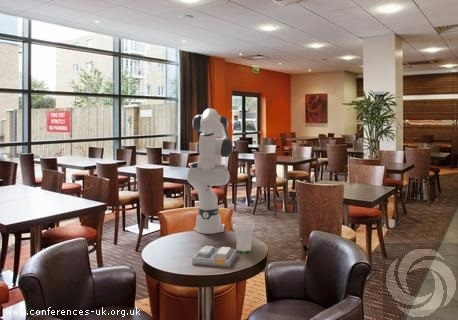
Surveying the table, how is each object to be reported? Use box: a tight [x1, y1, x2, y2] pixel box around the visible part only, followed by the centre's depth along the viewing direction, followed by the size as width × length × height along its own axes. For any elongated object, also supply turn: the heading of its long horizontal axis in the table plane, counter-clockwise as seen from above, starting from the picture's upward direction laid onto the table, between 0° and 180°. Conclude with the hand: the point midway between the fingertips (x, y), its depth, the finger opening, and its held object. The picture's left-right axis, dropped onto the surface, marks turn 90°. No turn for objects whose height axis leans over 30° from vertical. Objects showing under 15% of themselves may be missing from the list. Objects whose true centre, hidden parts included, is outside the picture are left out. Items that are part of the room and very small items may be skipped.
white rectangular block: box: [217, 246, 232, 260], centre depth 193 cm, size 10×4×4 cm, turn 167°
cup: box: [232, 221, 256, 254], centre depth 206 cm, size 11×11×14 cm
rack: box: [191, 245, 238, 268], centre depth 194 cm, size 17×18×5 cm
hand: (207, 191), depth 204 cm, fingers closed
